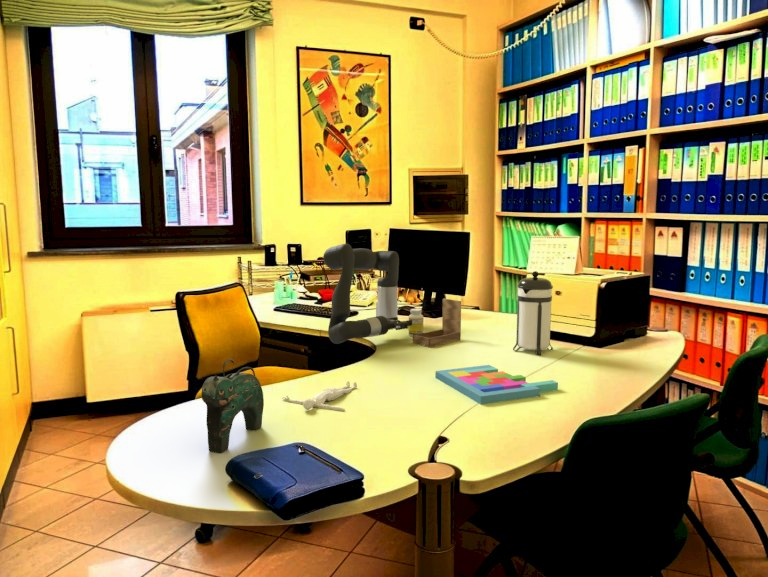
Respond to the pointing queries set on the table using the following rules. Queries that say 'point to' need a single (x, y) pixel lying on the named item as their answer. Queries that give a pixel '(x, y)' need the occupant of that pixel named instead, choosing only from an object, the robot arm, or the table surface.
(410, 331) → the pill bottle
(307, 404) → the figure model
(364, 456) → the table surface
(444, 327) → the brown angle bracket
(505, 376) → the tetris game
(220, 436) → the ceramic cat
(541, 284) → the coffee press
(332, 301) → the robot arm
